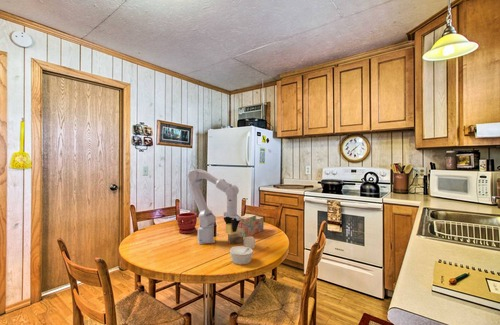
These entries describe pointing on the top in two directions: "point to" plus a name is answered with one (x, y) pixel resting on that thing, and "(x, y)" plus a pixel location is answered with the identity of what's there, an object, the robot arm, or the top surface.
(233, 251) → the ramekin
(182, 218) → the plant pot
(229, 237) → the walnut base block
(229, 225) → the ochre block
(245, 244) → the off-white block
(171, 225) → the top surface
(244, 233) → the stack of blocks
